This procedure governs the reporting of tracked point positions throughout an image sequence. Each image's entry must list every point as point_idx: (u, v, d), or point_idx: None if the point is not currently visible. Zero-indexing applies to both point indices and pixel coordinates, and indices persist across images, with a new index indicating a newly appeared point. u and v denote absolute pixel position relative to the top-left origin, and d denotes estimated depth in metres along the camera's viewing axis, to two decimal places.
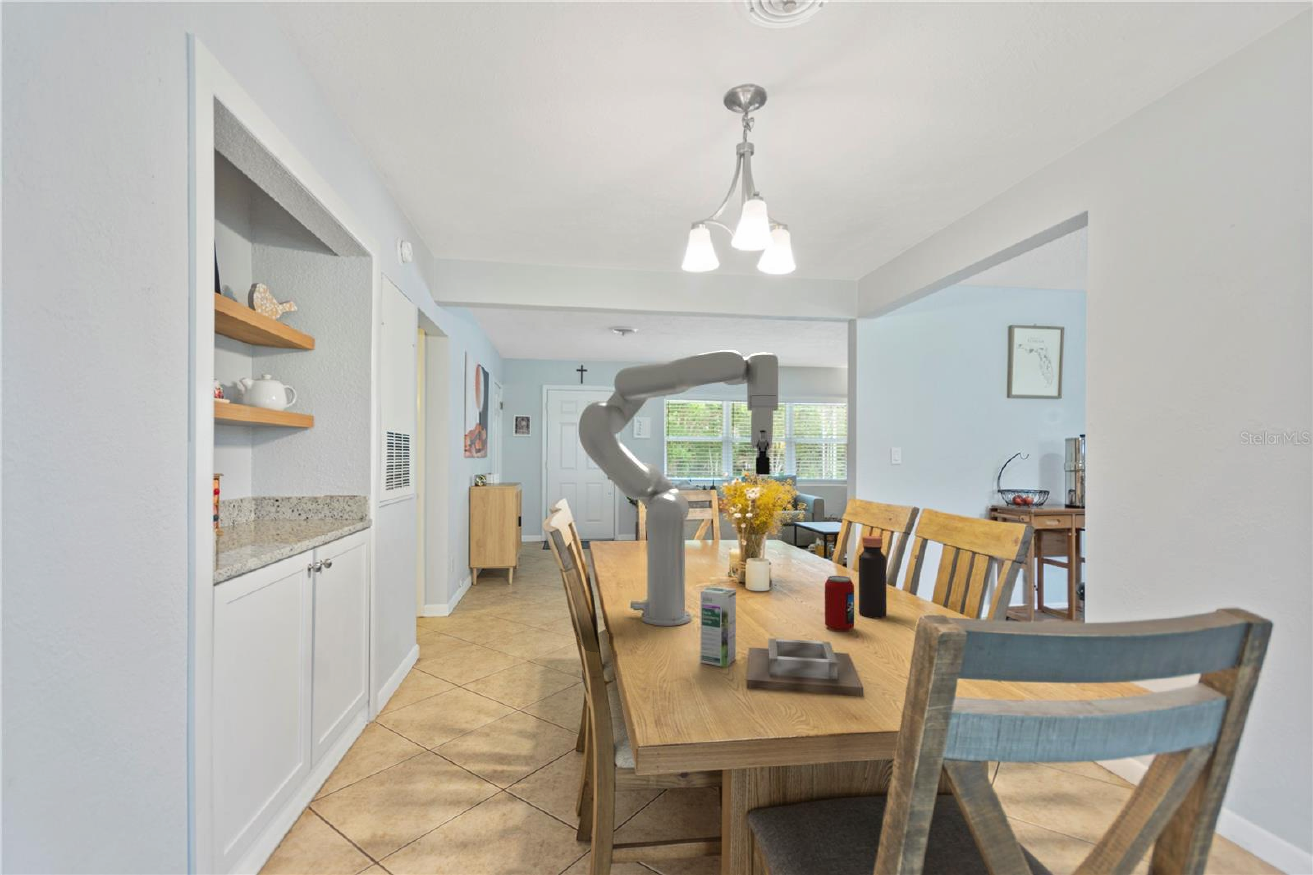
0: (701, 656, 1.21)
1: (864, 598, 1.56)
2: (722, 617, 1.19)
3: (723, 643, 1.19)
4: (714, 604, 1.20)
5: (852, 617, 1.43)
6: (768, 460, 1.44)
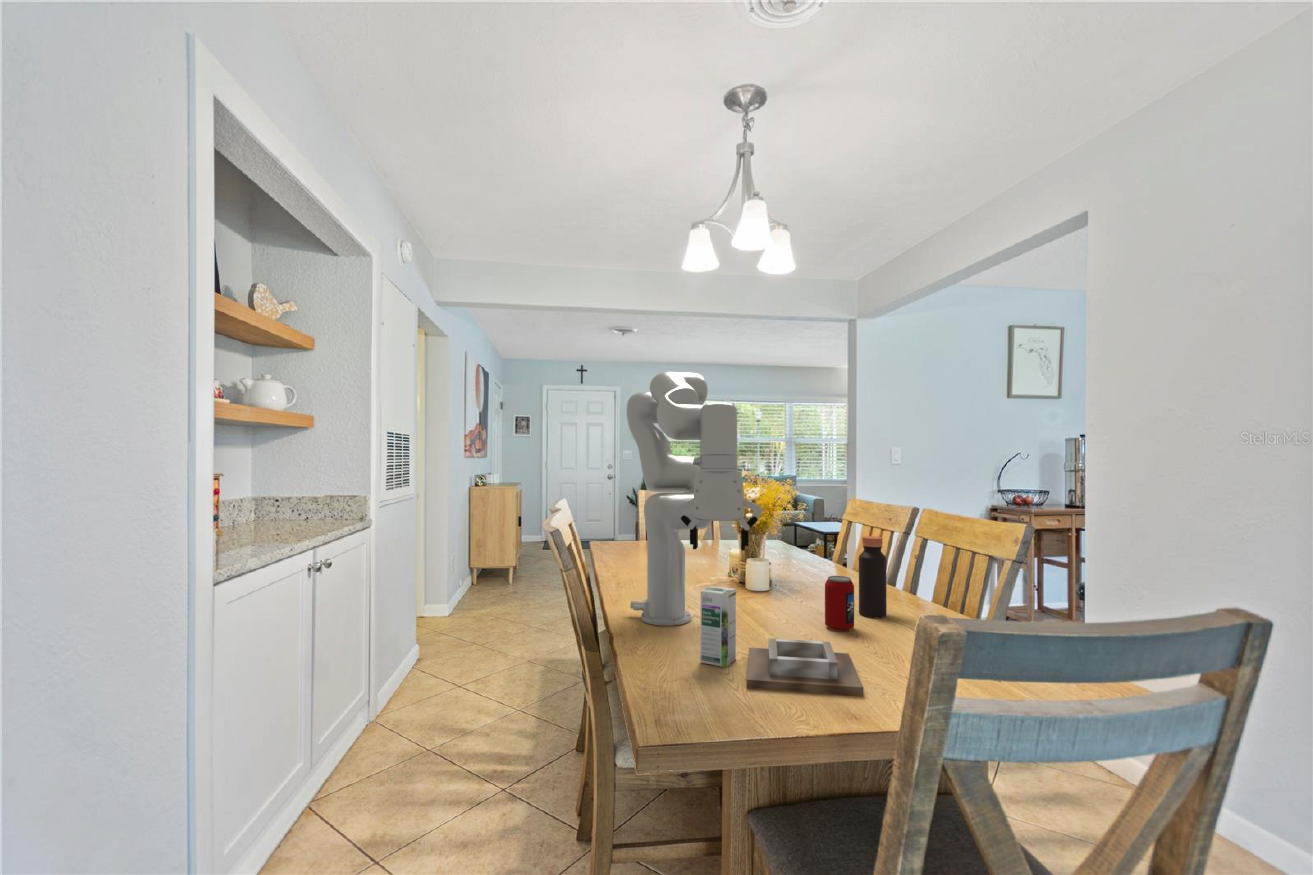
0: (701, 656, 1.21)
1: (864, 598, 1.56)
2: (722, 617, 1.19)
3: (723, 643, 1.19)
4: (714, 604, 1.20)
5: (852, 617, 1.43)
6: None
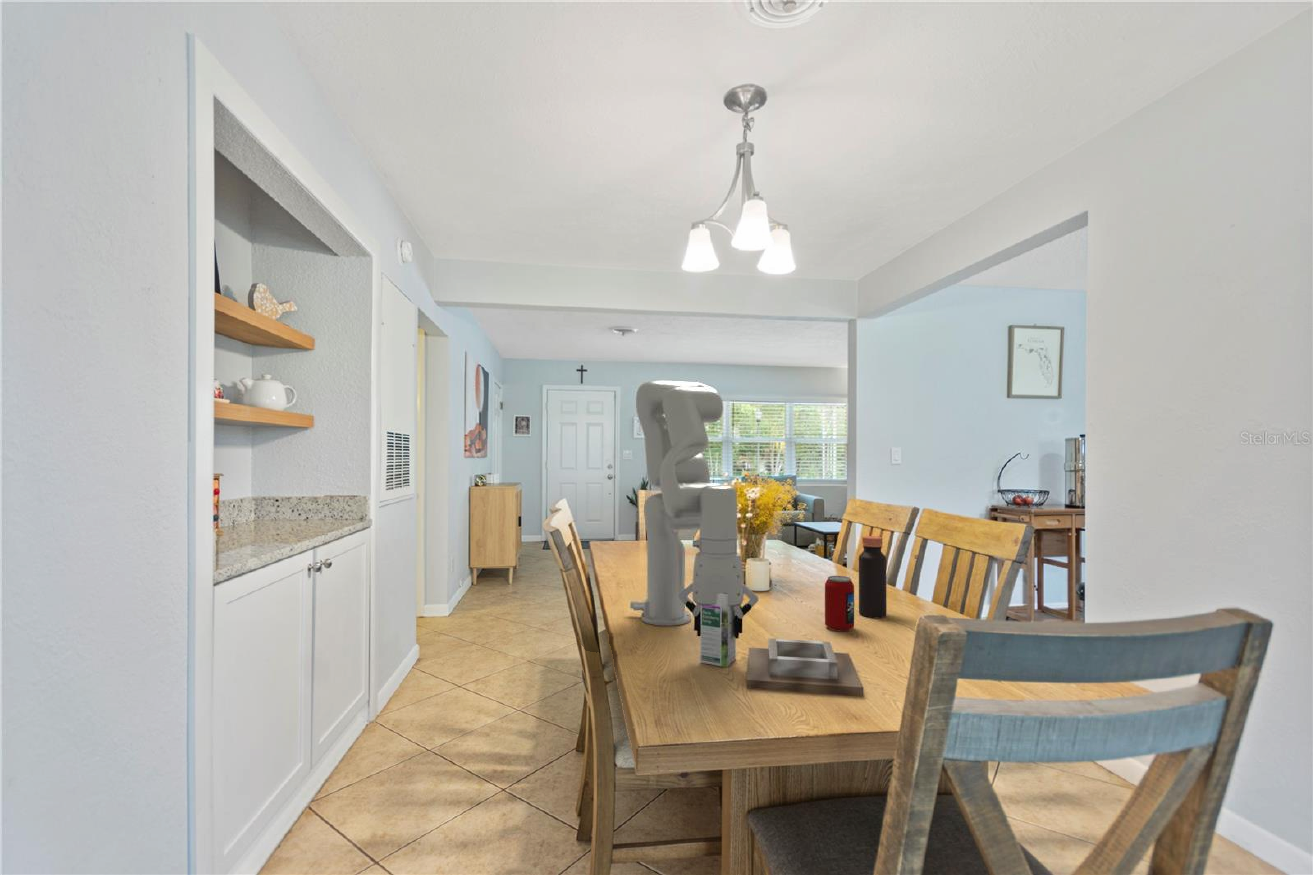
0: (701, 656, 1.21)
1: (864, 598, 1.56)
2: (722, 617, 1.19)
3: (723, 643, 1.19)
4: None
5: (852, 617, 1.43)
6: None
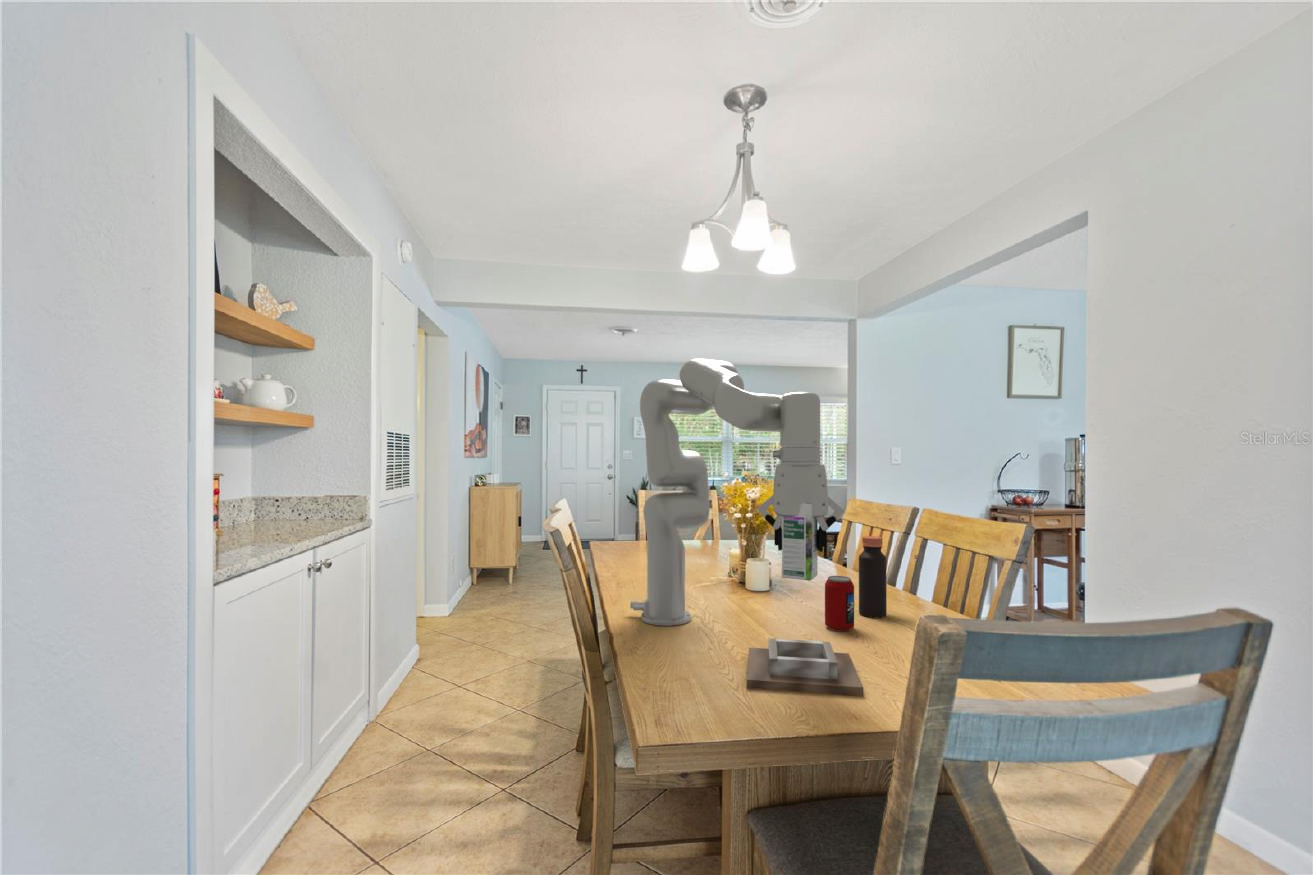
0: (783, 570, 1.15)
1: (864, 598, 1.56)
2: (807, 528, 1.13)
3: (807, 555, 1.13)
4: None
5: (852, 617, 1.43)
6: None
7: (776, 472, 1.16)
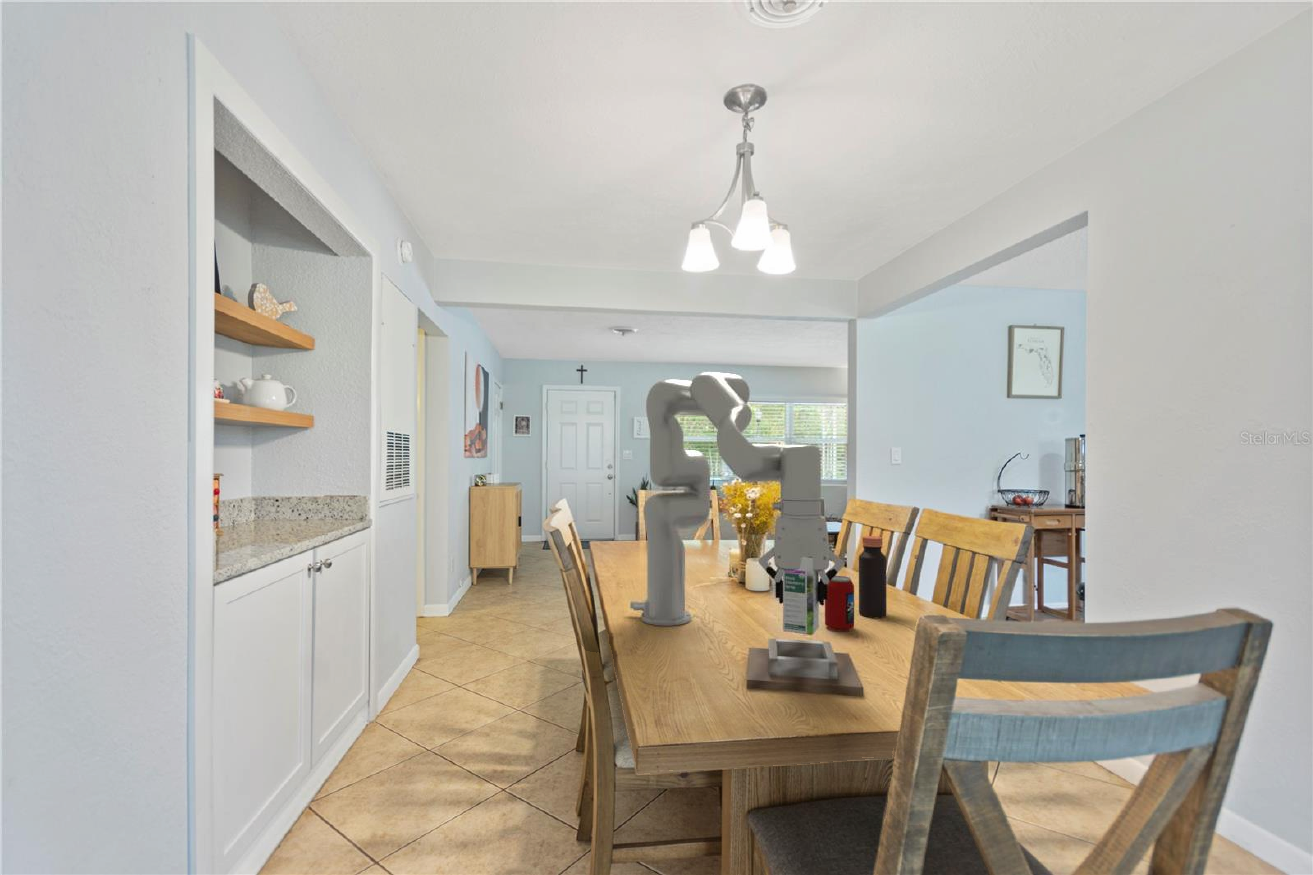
0: (784, 624, 1.15)
1: (864, 598, 1.56)
2: (808, 582, 1.13)
3: (808, 610, 1.13)
4: None
5: (852, 617, 1.43)
6: None
7: (777, 525, 1.15)
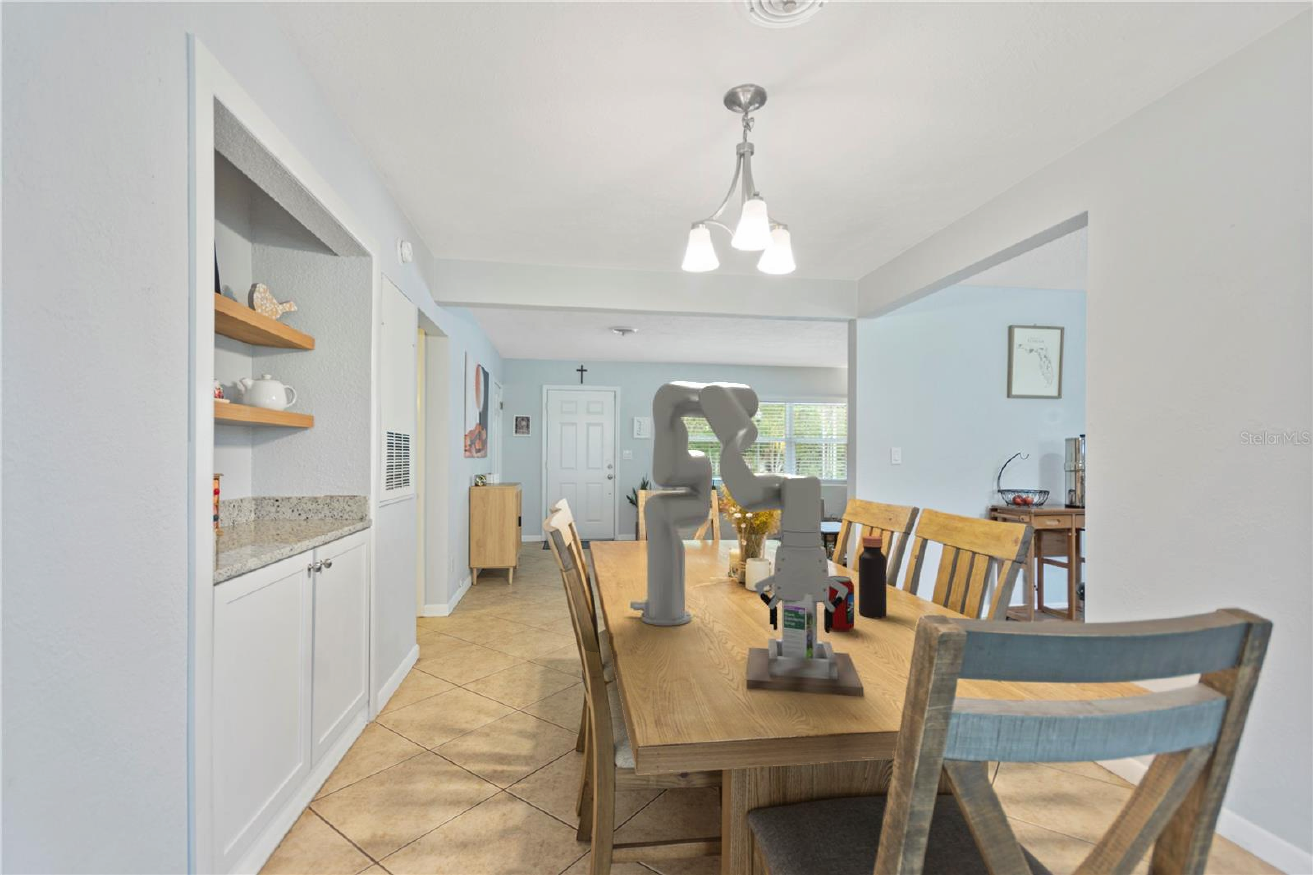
0: None
1: (864, 598, 1.56)
2: (808, 619, 1.13)
3: (808, 646, 1.13)
4: (797, 605, 1.14)
5: (852, 617, 1.43)
6: None
7: (777, 556, 1.15)
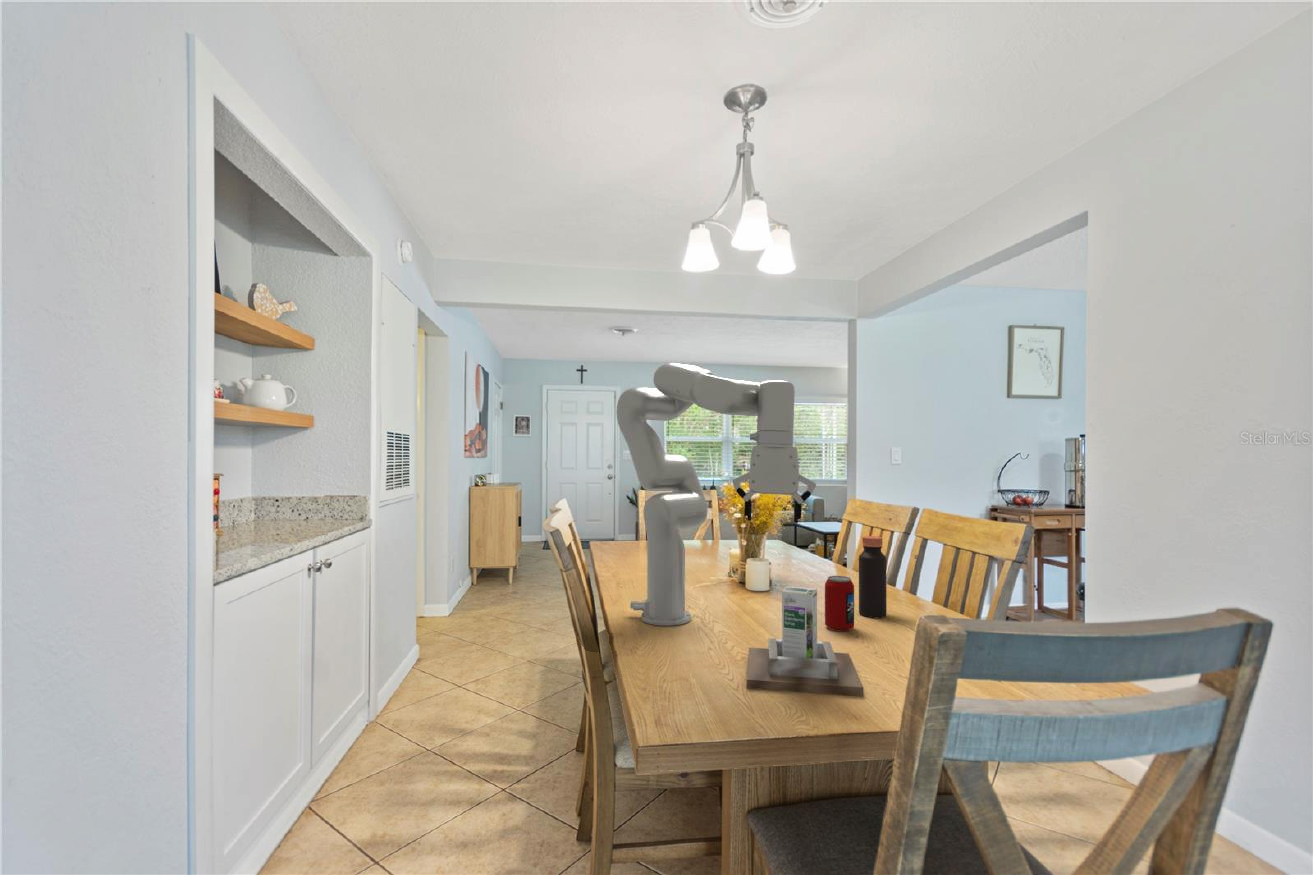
0: None
1: (864, 598, 1.56)
2: (807, 619, 1.13)
3: (808, 646, 1.13)
4: (797, 605, 1.14)
5: (852, 617, 1.43)
6: None
7: (752, 453, 1.27)
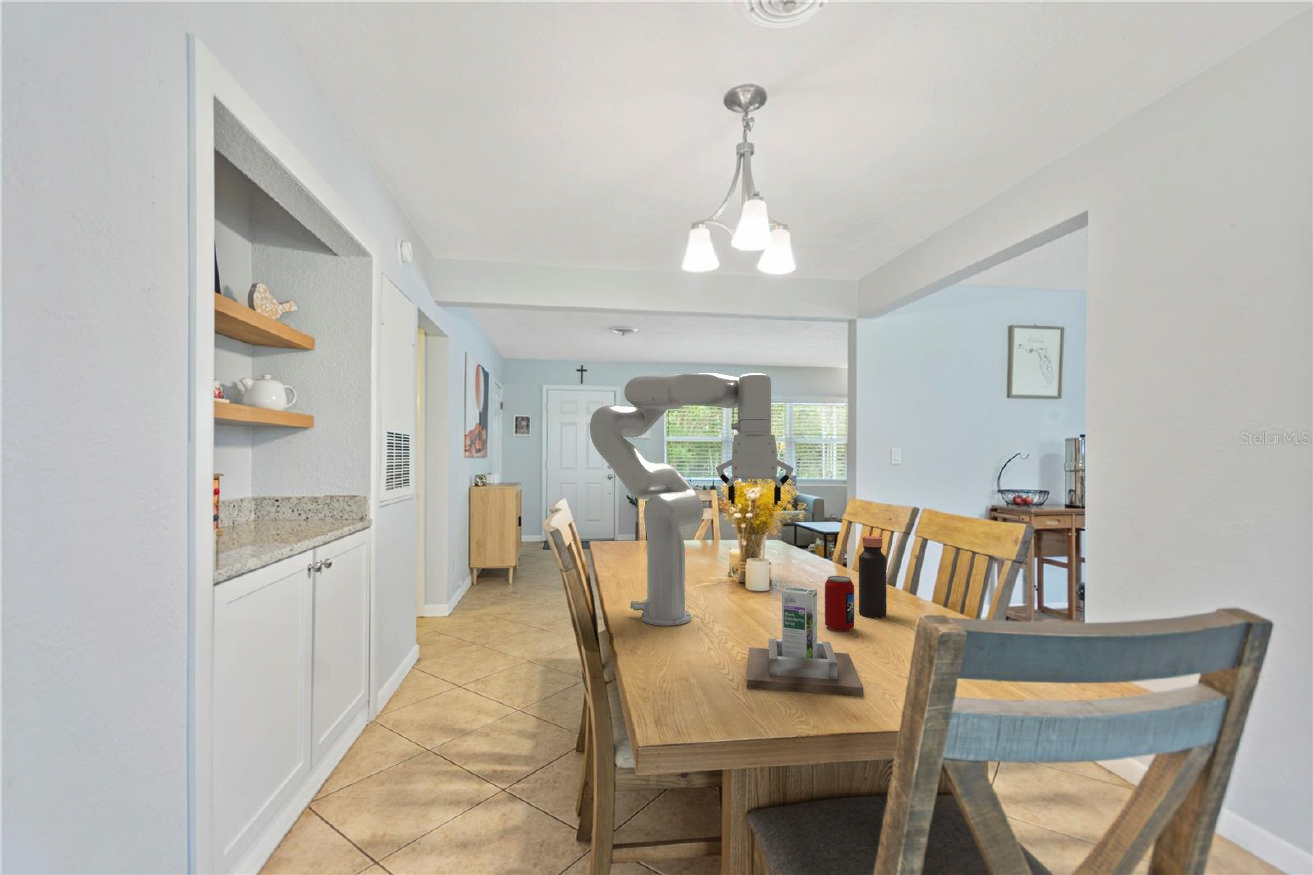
0: None
1: (864, 598, 1.56)
2: (807, 618, 1.13)
3: (808, 646, 1.13)
4: (797, 605, 1.14)
5: (852, 617, 1.43)
6: None
7: (734, 441, 1.37)
